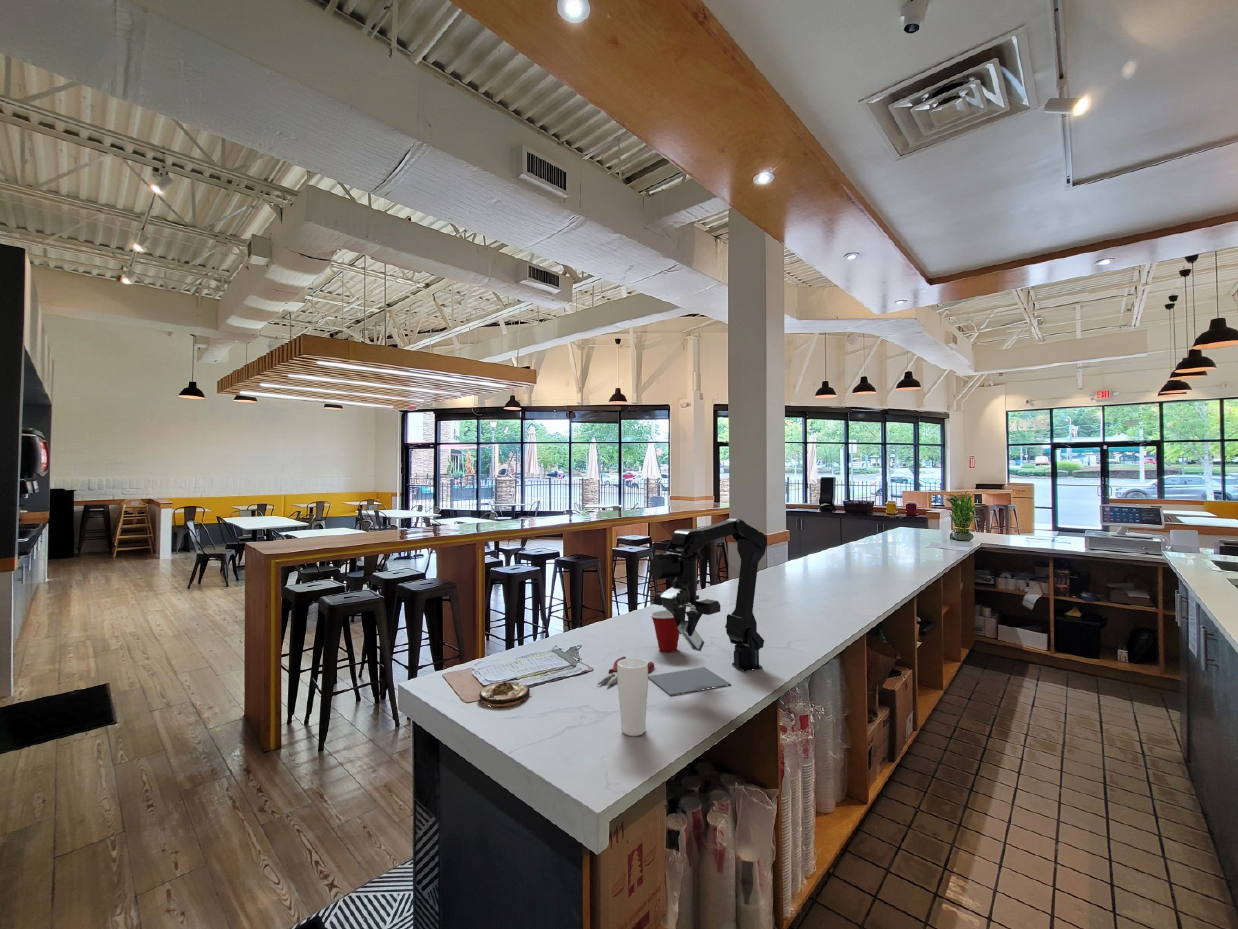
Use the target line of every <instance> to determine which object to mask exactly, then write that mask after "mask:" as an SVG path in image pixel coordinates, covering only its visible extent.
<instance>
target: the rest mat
mask: <svg viewBox="0 0 1238 929" xmlns="http://www.w3.org/2000/svg"><path fill="white" fill-rule="evenodd" d="M648 680H650V681H651V682H652V683H654V685H656V686H657V687H659V689H661V690H662V691H664V692H665V693H666V694H667V696H669V697H672V696H673V695H674V696H678V695H677V694H680V695H683V694H682V693H685V694H690V692H691V693H694V691H696V692H699V691H698V690H702V689H707V688H712V687H719V688H723V687H722V686H724V687H727V686H726V685H730V686H732V684H731V683H730V682H729V681H727V680H726V679H724V678H722V677H721V676H720V675H718V674H716V673H715V672H713V671H711V670H710V669H709V668H706V667H705V666H703V667H697V668H691V669H684V670H677V671H672V672H664V673H658V674H653V675H648ZM702 691H703V690H702ZM674 696H673V697H674Z"/></svg>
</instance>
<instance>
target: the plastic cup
mask: <svg viewBox="0 0 1238 929" xmlns="http://www.w3.org/2000/svg"><path fill="white" fill-rule="evenodd" d="M649 615H650V617H651V619H652V622H653V625H654V631H655V635H656V636H655V637H656V640H657V647H658V650H659V651H660V652H662V653H674V652H676V651H677V649H678V645H679V644H678V643H679V639H680V633H679V631H678V629H677V625H676V622H675V619H674V617H673V614H672V613H671V612H670V611H669V610H666V609H665V610H658V611H653V612H652V613H650V614H649ZM673 651H674V652H673Z"/></svg>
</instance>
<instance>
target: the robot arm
mask: <svg viewBox="0 0 1238 929" xmlns="http://www.w3.org/2000/svg"><path fill="white" fill-rule="evenodd" d="M729 536H730V537H731V539H733V541H735V542H736V543H737V544H736V545H737V546H736V548H737V549H736V550H737V554H738V555H739V556H738V557H739V559H740V567H739V576H738V585H737V591H736V592H737V593H736V600H735V607H734V610H733V612H732V613H731V614H730V613H728V614H727V615H726V622H725V625H724V628H725V630H726V631H725V632H726V635H727V636H728V638H729V641H730V644H733V645H734V650H733V662H732V663H731V665H732V666H734V667H735V668H737V669H739V670H741V671H742V670H743V671H742V672H748V671H749V670H750V671H753V670H752V669H756V670H761V669H763V666H762V665H760V650H761V649H763V648H764V644H765V639H764V638H763V637H762V636H761V635H760V633H759V632H758V629H757V627H758V623H757V620H756V617H755V615H754V613H753V611H754V603H755V602H754V601H755V594H756V586H757V585H756V584H757V579H758V578H757V576H758V570H759V569H758V567H759V563H760V561H761V560H762V558H763V557H764V555H765V554H766V549H767V545H768V537H766V535H765V533H764V532H762V531H759V530H758V529H756V527H755V528H754V527H752V525H749V524H747V523H746V521H744V520H742V519H740V518H733V517H730V518H727V519H726V520H723V521H719V522H717V523H713V524H710V525H707V526H703V527H700V528H685V529H684V528H682V529H676V530H675V531H674V532H673V534H672V537H671V539H670V541H669V542H668V545H667V546H666V548H665V549H664V551H663V553H660V552H655V553H654V554H653V556H654V557H653V558H652V559H651V561H650V563H649V566H648V570H649V574H650V576H651V578H652V579H653V580H655V581H659V580H668V579H669V580H670V579H674V580H672V581H671V587H670V588H668V589H666V590H665V591H663V592H658V593H655V594H654V596H653V598H652V603H653V604H652V605H655V606H659V607H660V606H662V607H663V608H665V610H669V611H670V612H671V613H672V614H673V617H674V619H675V622H676V625H677V628H678V626H679V624H680V622H681V620H686V616H687V621H688V636H692V634H693V632H694V630H696V628H697V625H698V623H699V621H700V619H701V617H702V615H705V616H710V615H713V614H714V615H715V614H717V613H720V612H721V604H720V602H719V600H714V599H708V598H706V599H702V600H700V595H699V594H698V595H697V585H700V580H699V579H697V561H699V560H703V558H704V557H703V556H702V554H700V553H699V552H698V551H700V550H701V549H703V548H704V547H705V546H706V544H708V543H710V542H713V541H716V540H718V539H722V538H725V537H729ZM687 608H689V610H688V611H687ZM678 631H679V630H678ZM679 635H682V634H681V633H680V631H679Z"/></svg>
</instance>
